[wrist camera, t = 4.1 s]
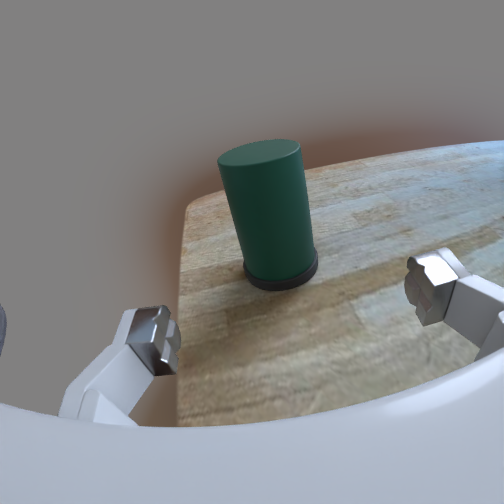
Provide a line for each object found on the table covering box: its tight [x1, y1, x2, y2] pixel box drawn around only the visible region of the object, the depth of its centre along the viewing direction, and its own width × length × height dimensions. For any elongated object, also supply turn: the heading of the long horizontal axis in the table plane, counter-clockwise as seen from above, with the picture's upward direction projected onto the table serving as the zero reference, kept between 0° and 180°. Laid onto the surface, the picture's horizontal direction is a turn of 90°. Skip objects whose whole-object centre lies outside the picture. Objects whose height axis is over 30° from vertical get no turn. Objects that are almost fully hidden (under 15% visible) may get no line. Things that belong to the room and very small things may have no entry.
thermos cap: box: [217, 139, 318, 291], centre depth 20 cm, size 6×6×9 cm
